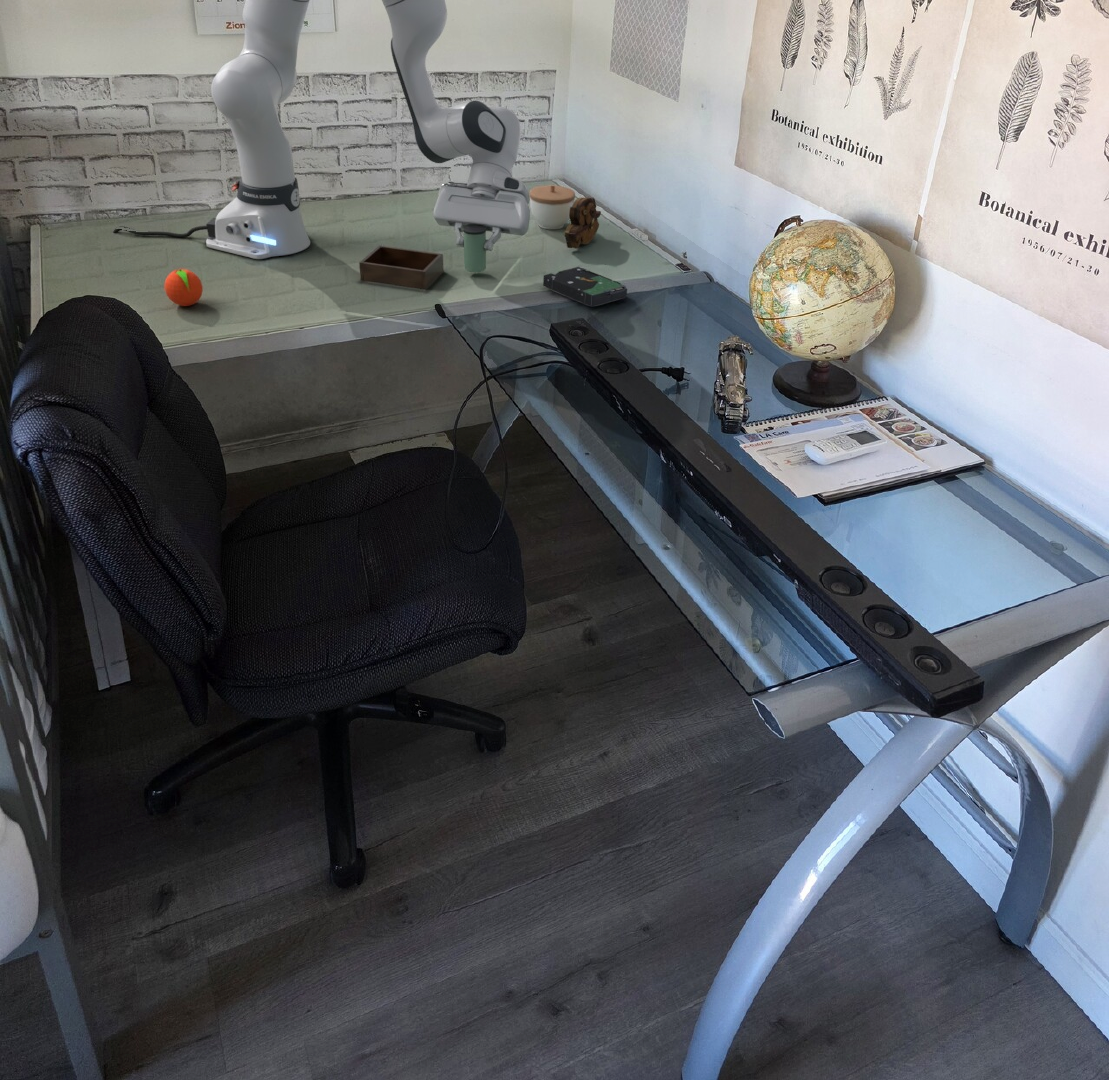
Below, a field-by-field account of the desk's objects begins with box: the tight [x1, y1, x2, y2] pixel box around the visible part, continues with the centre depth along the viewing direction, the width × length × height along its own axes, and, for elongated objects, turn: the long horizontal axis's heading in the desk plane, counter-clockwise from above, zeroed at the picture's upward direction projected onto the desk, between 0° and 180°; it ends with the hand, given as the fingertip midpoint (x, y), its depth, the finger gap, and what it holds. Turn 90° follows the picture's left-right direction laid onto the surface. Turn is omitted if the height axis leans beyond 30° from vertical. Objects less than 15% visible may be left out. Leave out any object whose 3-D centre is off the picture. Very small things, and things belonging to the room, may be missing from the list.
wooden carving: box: [563, 196, 602, 249], centre depth 225 cm, size 16×5×10 cm, turn 161°
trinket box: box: [529, 184, 576, 230], centre depth 234 cm, size 11×11×9 cm
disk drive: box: [542, 266, 628, 308], centre depth 204 cm, size 10×3×15 cm
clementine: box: [164, 268, 203, 307], centre depth 192 cm, size 8×7×7 cm
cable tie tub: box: [462, 224, 487, 273], centre depth 207 cm, size 5×5×8 cm
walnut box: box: [358, 244, 444, 291], centre depth 207 cm, size 14×10×4 cm
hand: (474, 248), depth 206 cm, fingers closed on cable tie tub, 4 cm apart
